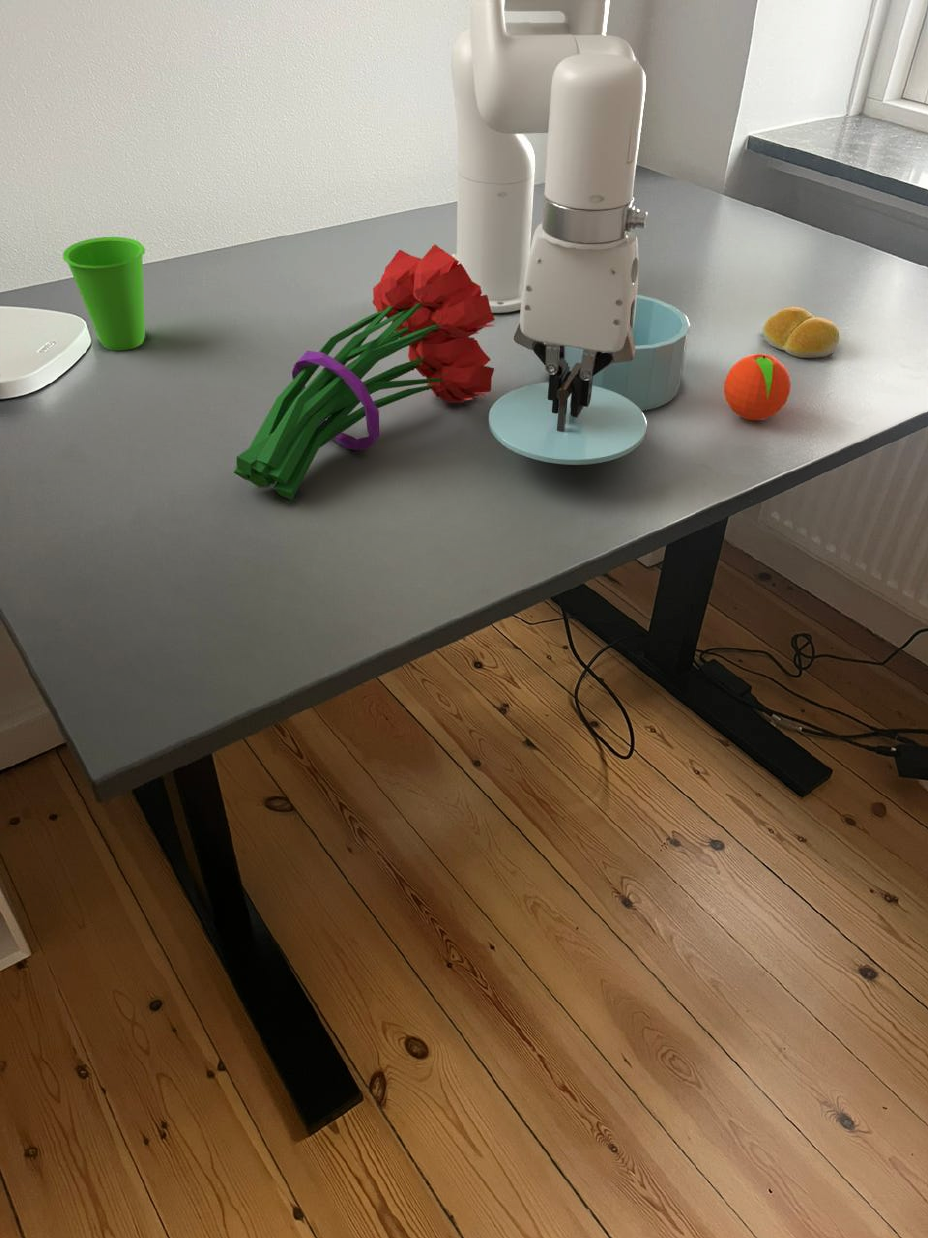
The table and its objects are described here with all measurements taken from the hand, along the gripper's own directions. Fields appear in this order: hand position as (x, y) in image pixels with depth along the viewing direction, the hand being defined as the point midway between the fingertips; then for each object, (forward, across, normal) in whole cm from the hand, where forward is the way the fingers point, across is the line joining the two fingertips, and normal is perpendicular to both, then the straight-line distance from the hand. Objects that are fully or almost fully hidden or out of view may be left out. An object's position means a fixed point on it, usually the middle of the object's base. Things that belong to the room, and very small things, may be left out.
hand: (568, 408), depth 99 cm
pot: (+6, -1, -19) cm, 20 cm away
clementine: (+6, -17, -16) cm, 24 cm away
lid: (+2, 0, 0) cm, 2 cm away
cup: (+6, +57, -7) cm, 58 cm away
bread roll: (+6, -20, -37) cm, 43 cm away
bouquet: (+6, +20, +4) cm, 21 cm away
